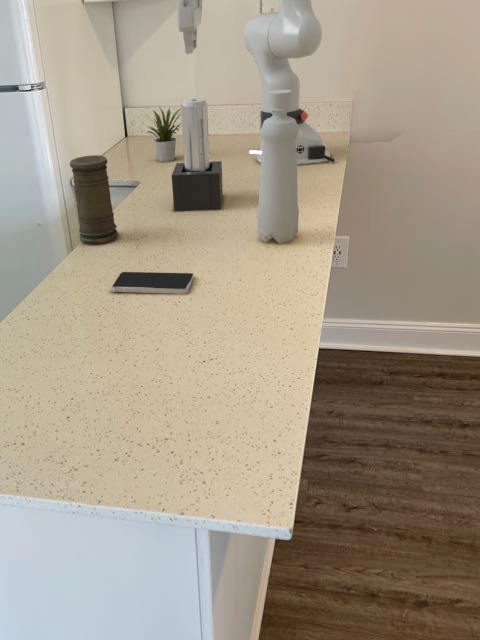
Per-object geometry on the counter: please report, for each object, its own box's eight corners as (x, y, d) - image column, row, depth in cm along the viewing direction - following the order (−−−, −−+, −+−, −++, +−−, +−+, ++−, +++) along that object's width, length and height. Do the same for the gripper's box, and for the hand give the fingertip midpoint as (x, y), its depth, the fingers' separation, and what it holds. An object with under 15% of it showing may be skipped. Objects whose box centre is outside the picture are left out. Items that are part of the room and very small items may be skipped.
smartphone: (186, 289, 129) (111, 287, 132) (186, 294, 130) (112, 293, 132) (193, 272, 135) (121, 271, 138) (193, 278, 136) (122, 276, 139)
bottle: (302, 233, 153) (308, 87, 136) (291, 247, 146) (295, 95, 129) (264, 230, 156) (265, 87, 139) (251, 243, 150) (250, 95, 133)
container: (123, 232, 162) (114, 154, 152) (108, 246, 155) (97, 164, 145) (90, 231, 165) (79, 154, 154) (73, 244, 158) (61, 164, 148)
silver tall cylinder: (211, 199, 180) (207, 96, 165) (210, 206, 174) (206, 101, 160) (187, 200, 180) (181, 98, 166) (185, 207, 175) (179, 102, 161)
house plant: (200, 156, 220) (197, 101, 211) (177, 166, 211) (174, 110, 202) (164, 153, 227) (160, 100, 218) (140, 163, 218) (135, 108, 208)
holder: (222, 195, 182) (221, 161, 176) (220, 209, 172) (219, 173, 167) (178, 197, 183) (176, 163, 178) (174, 211, 173) (171, 175, 168)
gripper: (198, -20, 141) (201, 55, 149) (205, -22, 157) (207, 45, 165) (168, -18, 142) (173, 57, 149) (178, -20, 158) (182, 47, 166)
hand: (191, 51), depth 157 cm, fingers open, 8 cm apart
